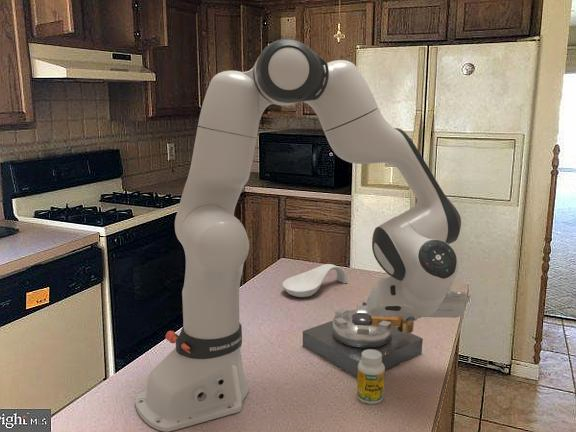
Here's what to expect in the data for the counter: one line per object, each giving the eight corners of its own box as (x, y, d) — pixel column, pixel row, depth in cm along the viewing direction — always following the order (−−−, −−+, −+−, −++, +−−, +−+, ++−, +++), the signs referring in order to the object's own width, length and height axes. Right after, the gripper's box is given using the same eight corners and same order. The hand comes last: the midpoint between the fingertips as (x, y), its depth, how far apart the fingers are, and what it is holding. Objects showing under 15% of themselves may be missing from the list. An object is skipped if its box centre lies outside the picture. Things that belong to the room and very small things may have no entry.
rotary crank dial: (331, 345, 116) (332, 301, 114) (333, 319, 130) (334, 279, 127) (416, 350, 114) (419, 305, 112) (409, 324, 128) (412, 283, 125)
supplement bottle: (377, 388, 107) (379, 346, 105) (387, 403, 102) (390, 358, 100) (352, 391, 106) (354, 348, 104) (362, 406, 101) (364, 361, 98)
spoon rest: (299, 305, 150) (299, 281, 149) (274, 293, 159) (274, 271, 158) (355, 287, 165) (356, 265, 163) (329, 277, 174) (330, 257, 172)
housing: (362, 381, 109) (363, 363, 108) (302, 346, 125) (302, 330, 124) (421, 354, 121) (422, 337, 120) (360, 324, 137) (361, 310, 136)
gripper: (470, 279, 106) (453, 305, 117) (370, 278, 106) (363, 303, 118) (475, 308, 102) (457, 331, 114) (372, 306, 103) (365, 330, 115)
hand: (409, 317), depth 116 cm, fingers closed
